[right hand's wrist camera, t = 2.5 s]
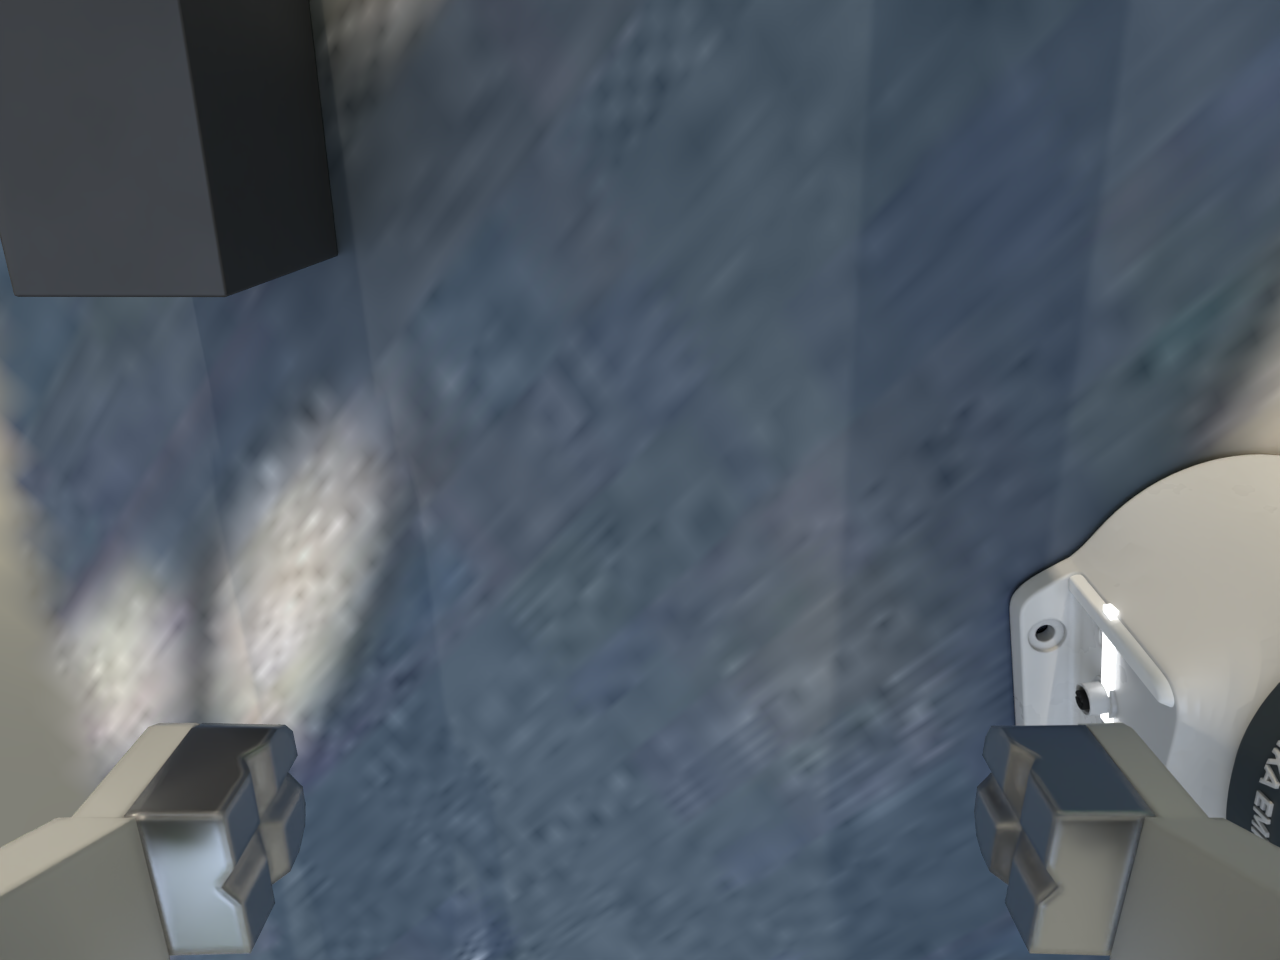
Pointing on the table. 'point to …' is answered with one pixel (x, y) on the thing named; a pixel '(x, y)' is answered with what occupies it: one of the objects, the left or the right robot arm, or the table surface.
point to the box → (160, 147)
